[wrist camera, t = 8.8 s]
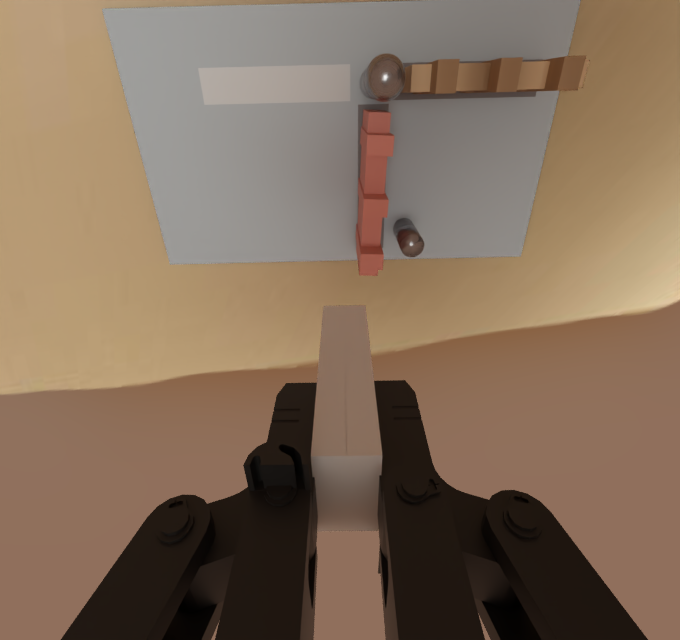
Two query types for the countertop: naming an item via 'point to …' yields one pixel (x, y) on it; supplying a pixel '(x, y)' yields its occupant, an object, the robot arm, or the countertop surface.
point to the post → (383, 78)
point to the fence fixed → (496, 75)
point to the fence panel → (372, 189)
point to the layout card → (333, 124)
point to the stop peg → (408, 237)
